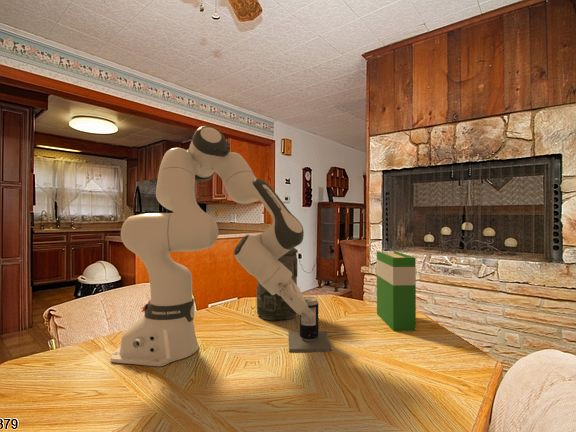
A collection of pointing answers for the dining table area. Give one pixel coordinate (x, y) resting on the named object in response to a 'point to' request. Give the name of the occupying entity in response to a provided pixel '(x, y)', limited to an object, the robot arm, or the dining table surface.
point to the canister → (274, 304)
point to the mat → (308, 343)
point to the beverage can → (309, 321)
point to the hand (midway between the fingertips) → (310, 311)
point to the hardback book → (396, 290)
